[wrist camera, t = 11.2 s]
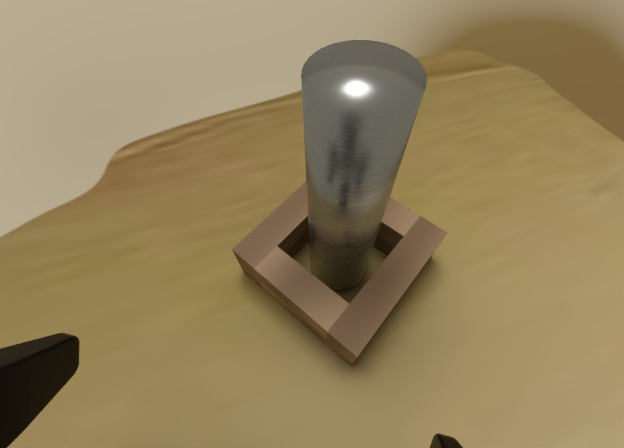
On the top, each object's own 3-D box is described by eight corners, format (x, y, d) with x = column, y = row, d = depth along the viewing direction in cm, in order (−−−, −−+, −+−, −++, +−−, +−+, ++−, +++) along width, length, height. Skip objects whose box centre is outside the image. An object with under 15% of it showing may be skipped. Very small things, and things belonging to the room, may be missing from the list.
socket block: (431, 255, 20) (447, 232, 18) (351, 365, 17) (356, 357, 14) (328, 188, 23) (329, 160, 20) (243, 270, 20) (232, 249, 17)
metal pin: (377, 267, 20) (452, 78, 9) (335, 302, 19) (362, 135, 8) (339, 230, 21) (364, 27, 10) (299, 260, 20) (276, 70, 9)
